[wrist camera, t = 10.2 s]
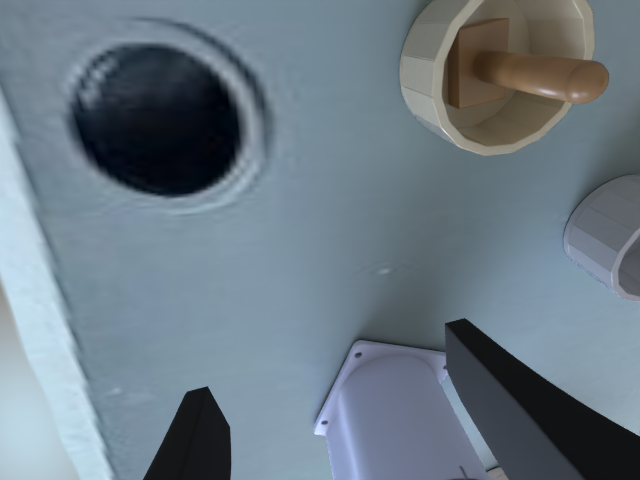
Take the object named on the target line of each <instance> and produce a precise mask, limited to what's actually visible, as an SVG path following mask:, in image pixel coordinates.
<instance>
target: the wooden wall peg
mask: <svg viewBox="0 0 640 480" xmlns="http://www.w3.org/2000/svg"><path fill="white" fill-rule="evenodd" d="M508 35H509V18H494V19H489V20H485V21H481V22H477V23H472V24H468V25H464V26H461V27H460V28H459V30H458V32H457V34H456V37H455V39H454V41H453V44H452V46H451V48H450V50H449V53H448V100H449V105H450V106H453V107H455V108H458V109H462V108H466V107H470V106H474V105H478V104H482V103H486V102H491V101H495V100H499V99H503V98H505V90H506V87H507V88H511V89H515V90H520V91H524V92H528V93H532V94H536V95H541V96H545V97H549V98H553V99H557V100H561V101H566V102H570V103H574V104H584V103H588V102H591V101H593V100H595V99H596V98H598V97H599V96H600V95H601V94H602V93H603V92H604V91H605V89H606V87H607V85H608V82H609V73H608V70H607V69H606V67H605V66H604V65H603V64H601V63H600V62H597V61H592V60H582V59H572V58H562V57H552V56H542V55H532V54H522V53H512V52H508Z"/></svg>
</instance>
